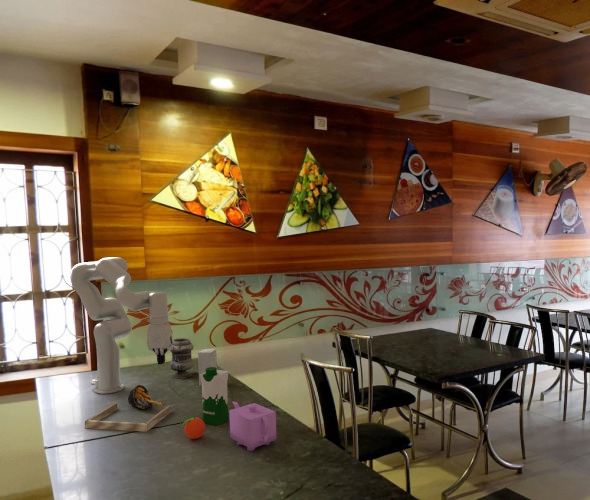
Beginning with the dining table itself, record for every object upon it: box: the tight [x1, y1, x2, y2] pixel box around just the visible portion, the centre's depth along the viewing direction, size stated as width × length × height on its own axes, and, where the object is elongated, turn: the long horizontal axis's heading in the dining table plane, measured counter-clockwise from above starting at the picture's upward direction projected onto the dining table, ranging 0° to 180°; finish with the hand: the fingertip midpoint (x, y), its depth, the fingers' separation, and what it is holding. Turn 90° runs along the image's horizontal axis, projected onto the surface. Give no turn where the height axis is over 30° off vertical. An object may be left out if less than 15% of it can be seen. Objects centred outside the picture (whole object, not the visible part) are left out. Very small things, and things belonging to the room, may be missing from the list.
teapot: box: [228, 401, 277, 452], centre depth 157 cm, size 20×10×12 cm, turn 41°
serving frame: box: [84, 402, 172, 433], centre depth 180 cm, size 24×19×2 cm
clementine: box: [181, 416, 206, 440], centre depth 161 cm, size 8×7×7 cm
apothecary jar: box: [168, 337, 195, 379], centre depth 237 cm, size 12×12×18 cm
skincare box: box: [197, 348, 218, 387], centre depth 223 cm, size 8×7×16 cm
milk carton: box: [200, 367, 230, 426], centre depth 176 cm, size 9×9×20 cm
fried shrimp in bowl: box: [127, 384, 166, 410], centre depth 193 cm, size 9×11×18 cm
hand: (161, 363), depth 204 cm, fingers closed
